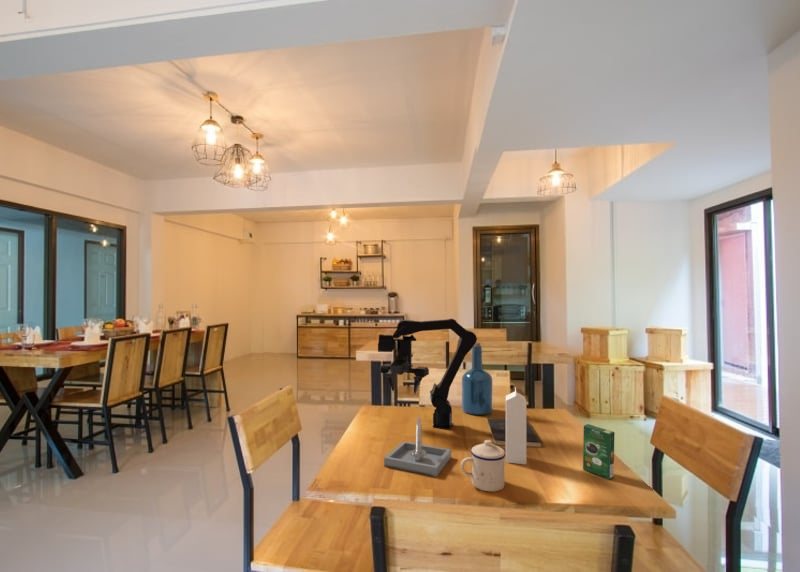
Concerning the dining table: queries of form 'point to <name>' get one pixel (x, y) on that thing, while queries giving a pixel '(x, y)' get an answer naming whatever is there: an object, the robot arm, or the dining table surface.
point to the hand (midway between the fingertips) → (404, 392)
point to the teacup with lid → (486, 466)
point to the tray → (427, 466)
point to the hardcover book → (500, 433)
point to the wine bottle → (477, 387)
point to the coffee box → (598, 451)
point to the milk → (515, 428)
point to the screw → (418, 443)
